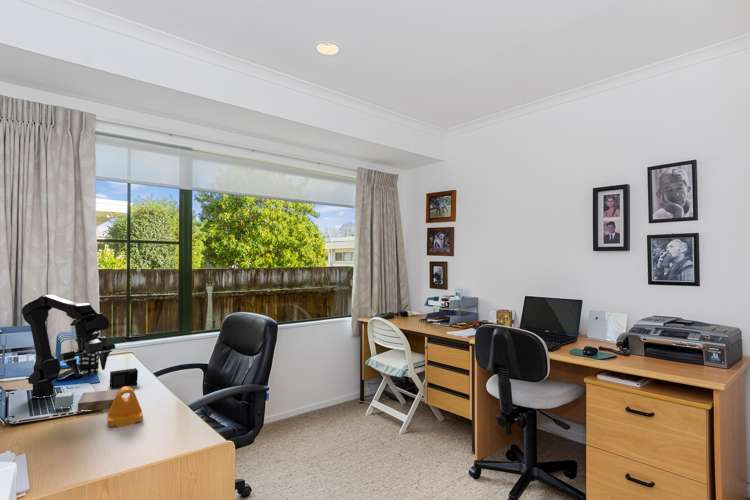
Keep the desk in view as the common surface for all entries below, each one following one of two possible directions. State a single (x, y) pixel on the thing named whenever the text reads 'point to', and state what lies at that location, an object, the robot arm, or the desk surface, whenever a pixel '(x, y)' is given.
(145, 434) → the desk surface
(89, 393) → the walnut block
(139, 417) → the bracket
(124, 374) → the digital camera
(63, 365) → the file sorter
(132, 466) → the desk surface
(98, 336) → the spotted tube
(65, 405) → the slate cube
